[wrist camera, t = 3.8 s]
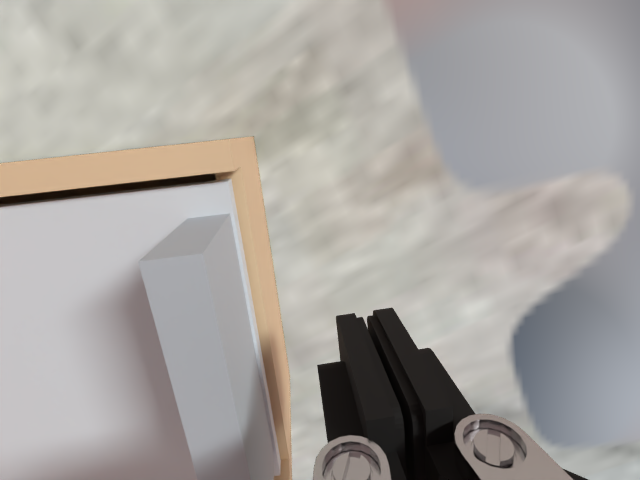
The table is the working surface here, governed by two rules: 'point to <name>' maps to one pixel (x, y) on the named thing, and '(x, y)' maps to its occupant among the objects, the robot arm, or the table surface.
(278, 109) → the table surface
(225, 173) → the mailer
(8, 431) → the lid
